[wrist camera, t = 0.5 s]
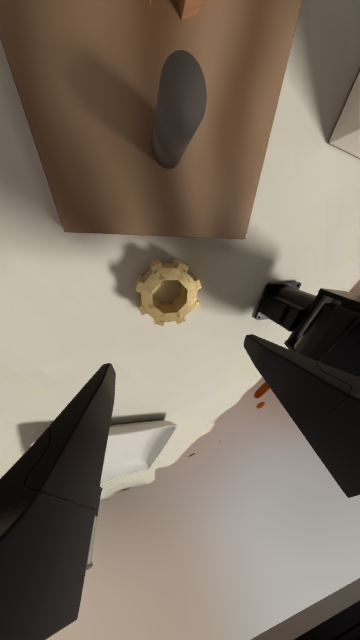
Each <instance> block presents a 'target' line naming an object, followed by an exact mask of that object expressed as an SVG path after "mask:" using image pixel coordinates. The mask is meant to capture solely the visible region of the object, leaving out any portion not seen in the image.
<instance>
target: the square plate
mask: <svg viewBox="0 0 360 640" xmlns="http://www.w3.org/2000/svg"><path fill="white" fill-rule="evenodd" d="M176 429H177V424H174V423H173V422H170V421H165V420H161V421H150V422H137V423H127V424H117V425H110V429H109V435H108V441H107V446H106V452H105V458H104V464H103V470H102V476H101V482H104V481H108V480H112V479H116V478H119V477H123V476H127V475H130V474H134V473H137V472H141V471H145V470H148V469H150V468H151V466H152V465H153V464H154V462H155V461H156V459H157V458H158V456H159V455H160V453H161V452H162V450H163V449H164V448H165V446H166V444H167V443H168V441H169V440H170V438H171V437H172V435H173V433H174V432H175V430H176ZM35 442H36V441H34V442H32V443H31V445H30V447H31V446H32V445H33V444H34V443H35Z"/></svg>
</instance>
